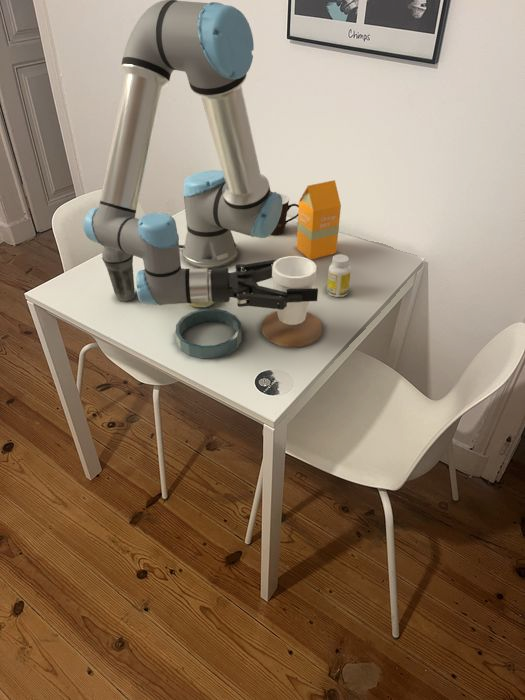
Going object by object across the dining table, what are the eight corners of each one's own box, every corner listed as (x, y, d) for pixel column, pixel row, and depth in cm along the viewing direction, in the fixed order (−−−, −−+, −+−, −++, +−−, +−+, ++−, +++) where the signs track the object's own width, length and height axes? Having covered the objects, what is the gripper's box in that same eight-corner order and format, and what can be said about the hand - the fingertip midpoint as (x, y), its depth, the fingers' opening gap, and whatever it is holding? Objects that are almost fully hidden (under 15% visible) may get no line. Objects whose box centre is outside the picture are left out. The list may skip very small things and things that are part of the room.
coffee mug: (254, 232, 161) (254, 201, 154) (269, 221, 166) (269, 191, 160) (287, 241, 156) (288, 210, 150) (301, 230, 162) (303, 199, 155)
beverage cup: (145, 291, 135) (133, 218, 122) (131, 307, 130) (116, 232, 117) (120, 286, 137) (106, 214, 124) (105, 301, 132) (88, 227, 119)
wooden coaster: (249, 330, 122) (249, 327, 122) (287, 304, 131) (287, 302, 130) (296, 356, 115) (296, 353, 115) (333, 327, 124) (334, 324, 123)
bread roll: (190, 311, 128) (189, 298, 126) (182, 292, 135) (180, 279, 132) (223, 305, 130) (222, 291, 128) (213, 286, 137) (212, 273, 134)
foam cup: (309, 331, 116) (313, 280, 108) (268, 326, 118) (268, 275, 110) (314, 307, 124) (318, 258, 115) (275, 302, 125) (277, 253, 117)
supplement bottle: (348, 287, 137) (352, 253, 131) (347, 298, 133) (351, 264, 127) (327, 285, 138) (330, 251, 131) (325, 296, 133) (329, 262, 127)
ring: (163, 339, 120) (162, 329, 118) (209, 311, 128) (208, 301, 126) (208, 367, 112) (208, 356, 110) (254, 336, 121) (254, 325, 119)
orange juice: (296, 248, 153) (299, 180, 140) (322, 241, 156) (327, 175, 144) (310, 260, 148) (314, 191, 135) (336, 253, 151) (343, 185, 138)
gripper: (212, 274, 125) (306, 271, 126) (211, 329, 108) (320, 325, 109) (210, 245, 120) (308, 243, 121) (209, 298, 103) (323, 295, 104)
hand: (313, 282), depth 115 cm, fingers closed on foam cup, 9 cm apart
